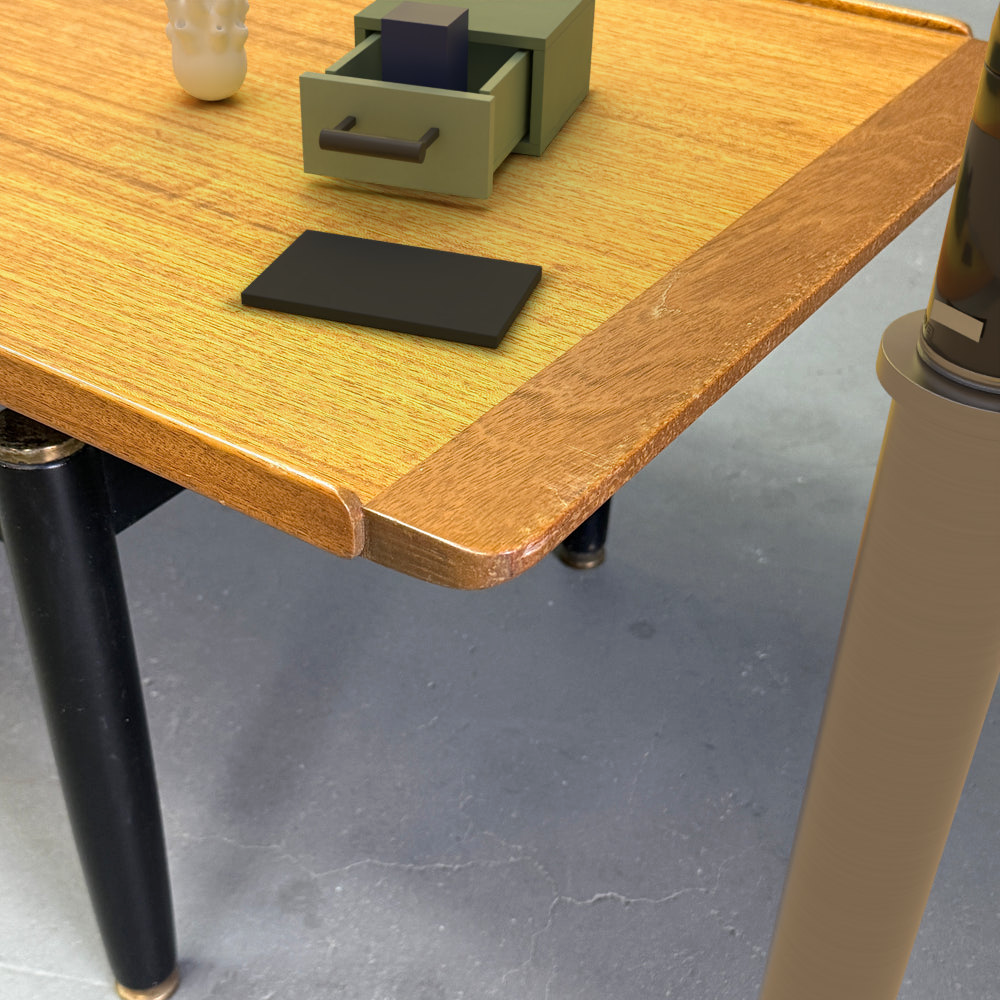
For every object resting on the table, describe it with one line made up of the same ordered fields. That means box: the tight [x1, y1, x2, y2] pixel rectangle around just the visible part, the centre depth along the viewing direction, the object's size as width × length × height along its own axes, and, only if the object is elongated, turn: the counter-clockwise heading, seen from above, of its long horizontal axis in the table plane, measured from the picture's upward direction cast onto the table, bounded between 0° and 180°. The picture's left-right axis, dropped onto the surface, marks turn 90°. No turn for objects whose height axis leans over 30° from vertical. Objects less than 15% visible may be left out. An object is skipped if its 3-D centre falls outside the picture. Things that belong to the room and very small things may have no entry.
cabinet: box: [353, 0, 596, 157], centre depth 110 cm, size 16×15×9 cm
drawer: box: [298, 31, 534, 201], centre depth 99 cm, size 19×14×7 cm
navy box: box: [381, 1, 469, 92], centre depth 99 cm, size 5×5×9 cm
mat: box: [240, 228, 543, 349], centre depth 85 cm, size 16×10×1 cm, turn 73°
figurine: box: [164, 0, 250, 102], centre depth 110 cm, size 7×7×12 cm
